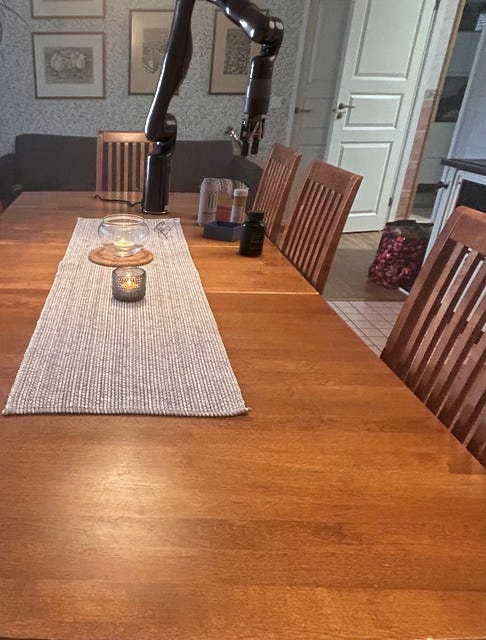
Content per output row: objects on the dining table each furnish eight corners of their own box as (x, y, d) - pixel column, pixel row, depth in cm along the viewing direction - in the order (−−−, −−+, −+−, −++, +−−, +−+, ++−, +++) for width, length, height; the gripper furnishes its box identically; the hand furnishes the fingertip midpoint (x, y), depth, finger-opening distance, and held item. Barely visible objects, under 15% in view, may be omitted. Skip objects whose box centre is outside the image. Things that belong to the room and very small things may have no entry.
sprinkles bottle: (244, 232, 202) (251, 189, 195) (236, 234, 199) (243, 190, 192) (233, 230, 205) (239, 187, 197) (225, 231, 202) (231, 188, 195)
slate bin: (202, 237, 193) (204, 224, 191) (215, 232, 201) (217, 219, 198) (231, 241, 189) (233, 228, 186) (243, 236, 196) (245, 224, 194)
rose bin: (203, 219, 219) (204, 207, 217) (215, 215, 227) (216, 204, 224) (229, 223, 215) (230, 211, 212) (239, 219, 222) (241, 208, 220)
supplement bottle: (263, 253, 177) (271, 210, 170) (258, 258, 171) (265, 214, 165) (241, 250, 179) (247, 208, 173) (235, 255, 174) (241, 211, 167)
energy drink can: (202, 227, 207) (207, 180, 199) (194, 223, 212) (199, 177, 204) (217, 226, 209) (223, 179, 201) (208, 222, 214) (214, 177, 206)
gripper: (254, 96, 188) (246, 152, 197) (237, 95, 178) (229, 155, 186) (277, 97, 185) (267, 155, 193) (261, 96, 175) (252, 157, 183)
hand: (249, 155), depth 190 cm, fingers open, 8 cm apart
